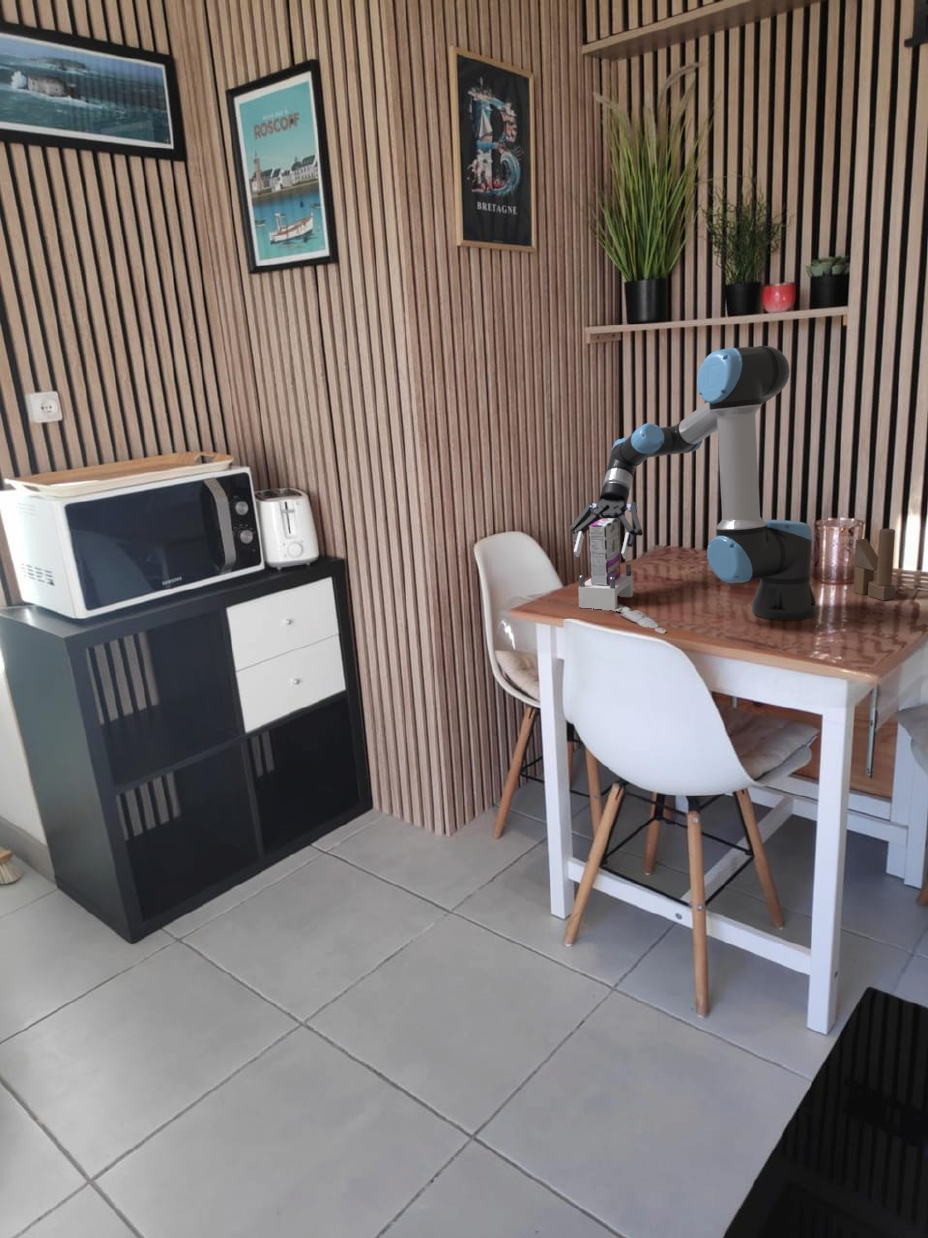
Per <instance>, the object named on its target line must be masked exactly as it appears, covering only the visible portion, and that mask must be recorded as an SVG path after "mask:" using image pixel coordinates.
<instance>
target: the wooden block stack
mask: <svg viewBox="0 0 928 1238" xmlns="http://www.w3.org/2000/svg"><path fill="white" fill-rule="evenodd" d="M878 533H879V534H878V536H879V537H878V550H877V551H878V554H877V553H876V552H875V549H874V548H873V546H872V545H871V543H870V542H869V540H868V538H861V539H856V540H855V548H854V549H855V551H854V552H855V553H854V572H853V573H854V574H853V589H852V591H853V593H854V594H858V595H862V596H863V595H867V596H868V597H870V598H873V599H877V600H881V601H890V600H893V599H895V593H896V592H895V591H896V586H895V585H894V584H892V583H893V572H894V571H893V570H894V569H893V568H894V555H895V554H894V553H895V551H894V550H895V540H896V539H895V538H896V530H895V528H881V529H880V530H879V532H878ZM875 572H876V580H875Z"/></svg>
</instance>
